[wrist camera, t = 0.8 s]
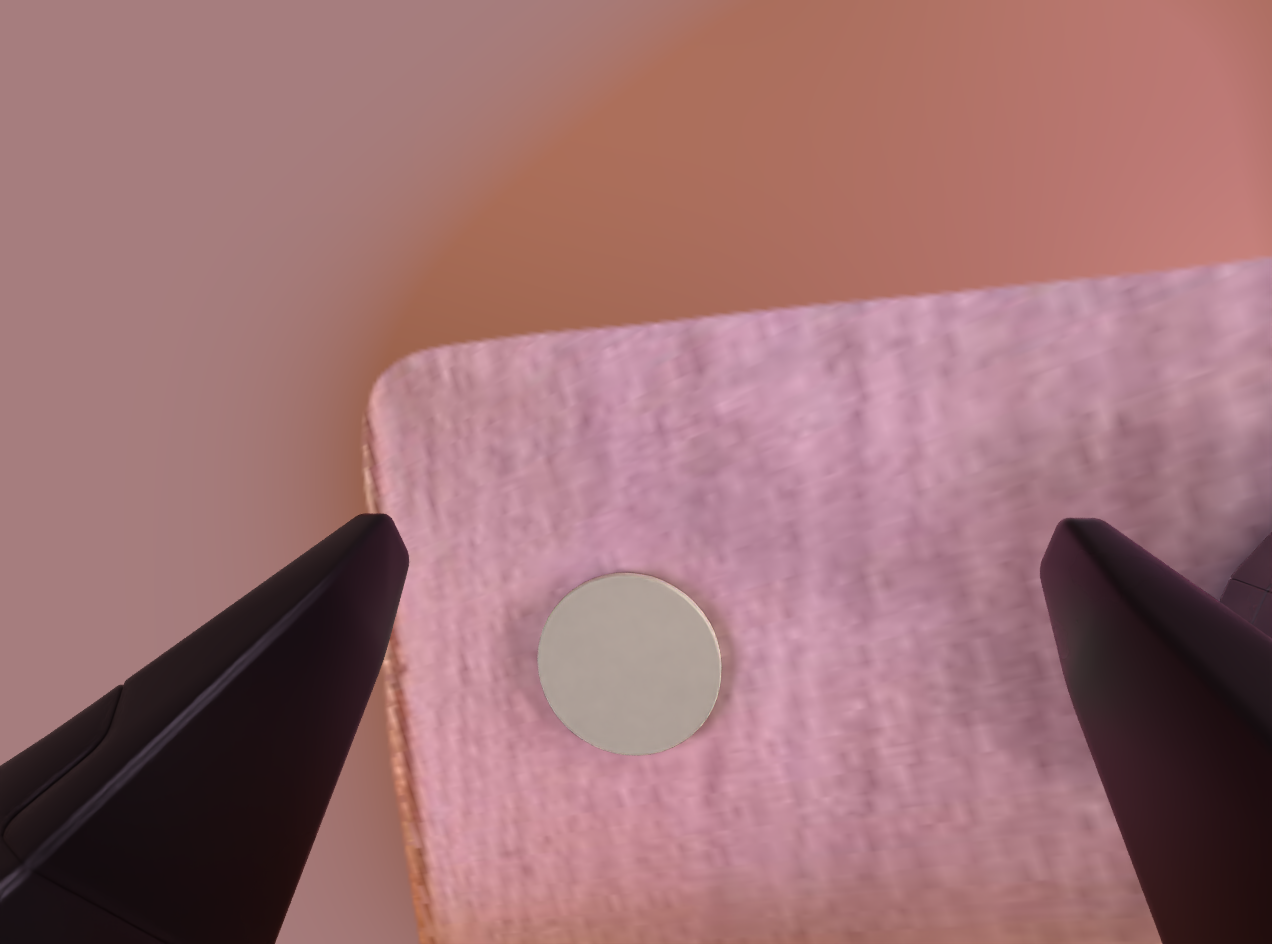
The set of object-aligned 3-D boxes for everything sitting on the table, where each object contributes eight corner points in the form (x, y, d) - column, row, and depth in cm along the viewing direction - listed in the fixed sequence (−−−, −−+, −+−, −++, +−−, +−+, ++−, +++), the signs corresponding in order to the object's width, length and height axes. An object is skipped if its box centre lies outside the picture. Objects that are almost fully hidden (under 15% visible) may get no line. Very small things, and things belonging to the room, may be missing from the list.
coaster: (759, 687, 24) (759, 693, 24) (612, 782, 26) (610, 789, 25) (646, 535, 24) (644, 538, 24) (506, 637, 26) (501, 642, 25)
